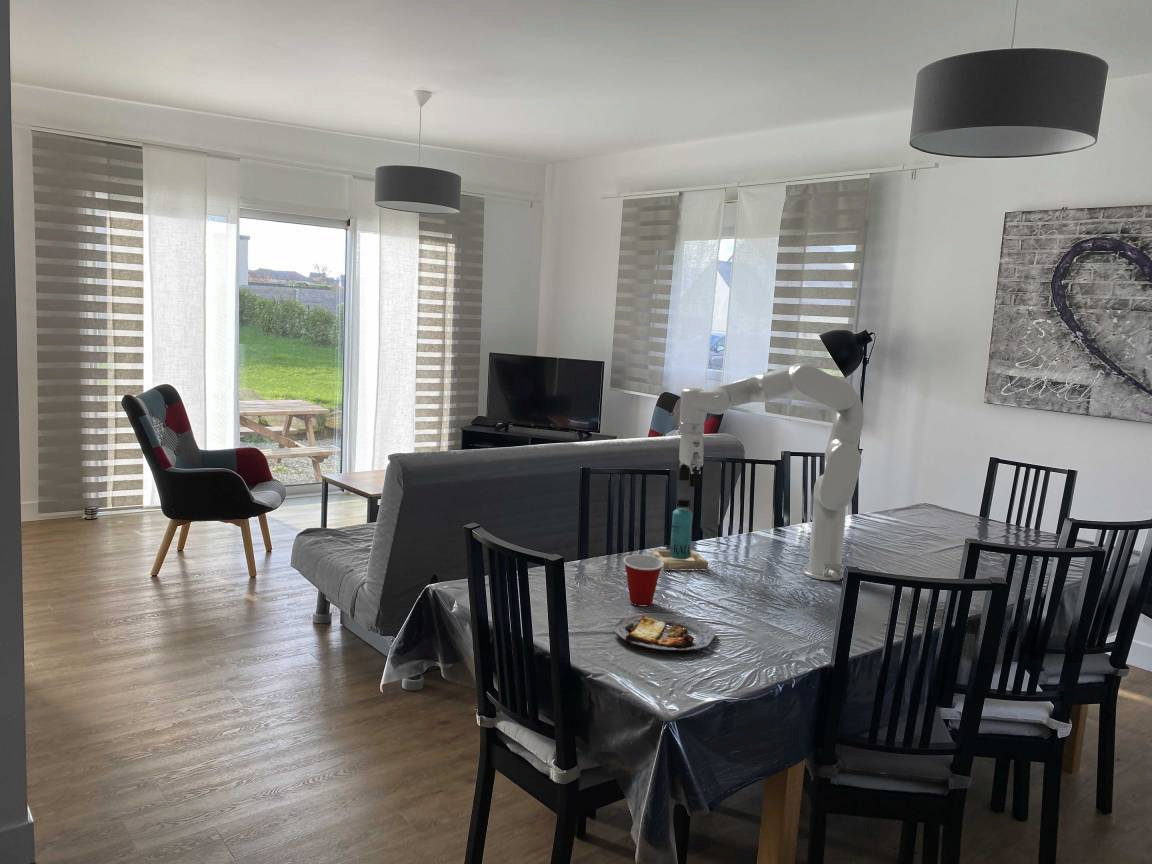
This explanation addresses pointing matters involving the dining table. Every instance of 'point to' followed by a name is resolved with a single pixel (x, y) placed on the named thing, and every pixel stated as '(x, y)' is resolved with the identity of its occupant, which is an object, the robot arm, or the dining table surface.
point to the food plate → (651, 626)
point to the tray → (680, 560)
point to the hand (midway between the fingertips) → (688, 483)
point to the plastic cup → (642, 577)
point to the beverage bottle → (681, 531)
